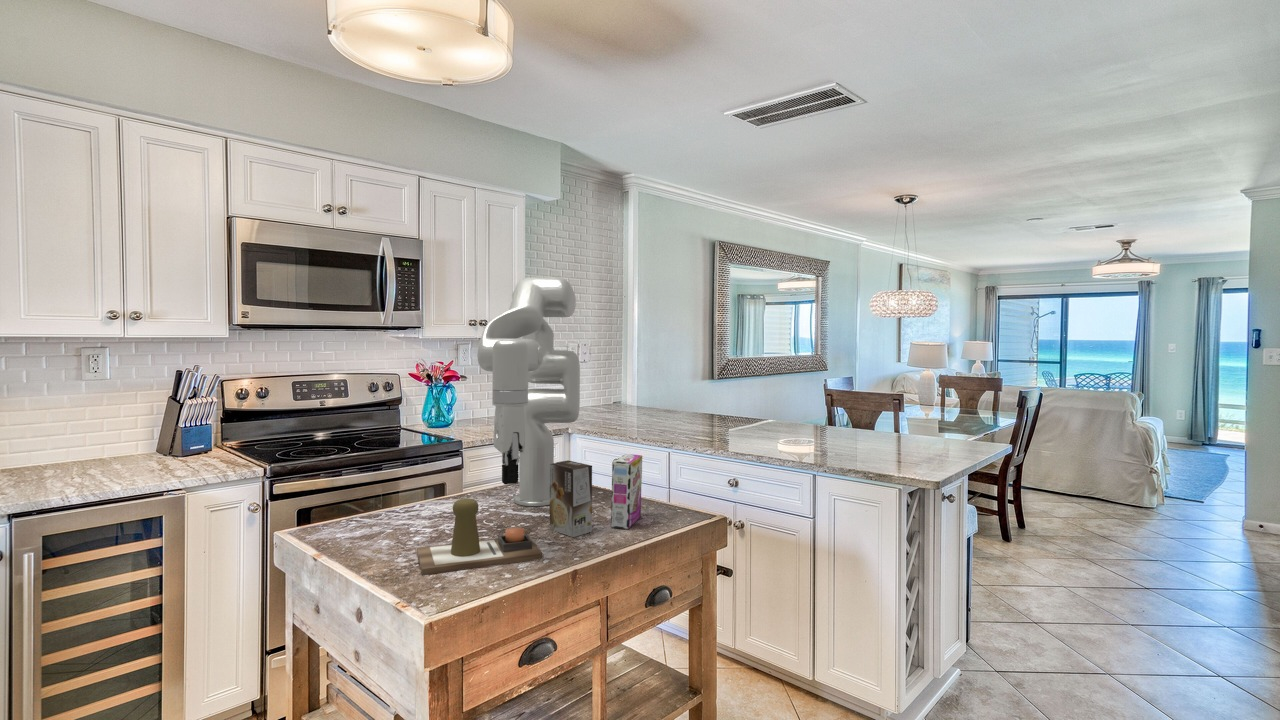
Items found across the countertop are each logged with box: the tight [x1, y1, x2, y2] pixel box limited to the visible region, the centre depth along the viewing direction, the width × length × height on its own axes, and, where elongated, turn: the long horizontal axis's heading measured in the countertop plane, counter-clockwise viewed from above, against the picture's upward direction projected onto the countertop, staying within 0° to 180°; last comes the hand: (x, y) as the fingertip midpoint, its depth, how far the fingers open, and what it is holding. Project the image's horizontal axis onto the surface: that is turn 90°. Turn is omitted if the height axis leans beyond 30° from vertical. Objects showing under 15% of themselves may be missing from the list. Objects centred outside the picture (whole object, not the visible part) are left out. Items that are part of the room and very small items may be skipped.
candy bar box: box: [610, 453, 643, 530], centre depth 157 cm, size 11×5×16 cm, turn 164°
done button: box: [504, 526, 525, 542], centre depth 136 cm, size 4×4×2 cm
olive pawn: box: [451, 497, 480, 557], centre depth 132 cm, size 6×6×11 cm
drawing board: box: [416, 532, 544, 576], centre depth 133 cm, size 13×24×3 cm, turn 114°
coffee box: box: [549, 460, 593, 538], centre depth 150 cm, size 9×6×16 cm
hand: (510, 482), depth 135 cm, fingers closed
